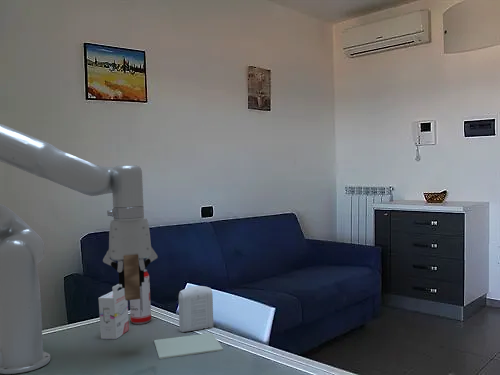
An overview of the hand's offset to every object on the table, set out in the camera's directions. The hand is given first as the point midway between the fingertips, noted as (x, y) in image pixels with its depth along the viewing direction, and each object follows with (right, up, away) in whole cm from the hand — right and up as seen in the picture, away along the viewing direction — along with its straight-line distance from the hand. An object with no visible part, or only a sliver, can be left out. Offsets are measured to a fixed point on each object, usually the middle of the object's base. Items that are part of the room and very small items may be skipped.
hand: (131, 285), depth 126 cm
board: (+14, -17, +4) cm, 22 cm away
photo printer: (+14, -17, +19) cm, 29 cm away
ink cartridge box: (-9, -17, +16) cm, 25 cm away
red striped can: (-4, -17, +28) cm, 33 cm away
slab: (0, -3, 0) cm, 3 cm away
